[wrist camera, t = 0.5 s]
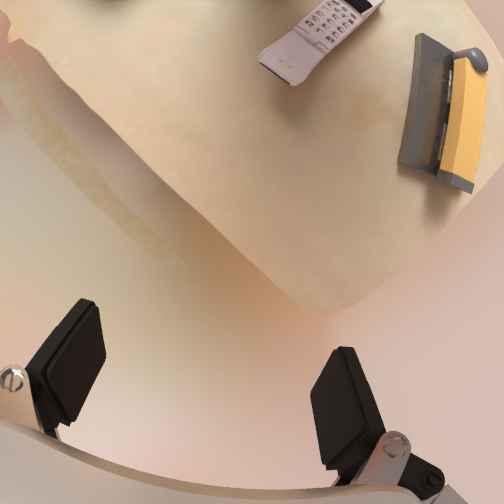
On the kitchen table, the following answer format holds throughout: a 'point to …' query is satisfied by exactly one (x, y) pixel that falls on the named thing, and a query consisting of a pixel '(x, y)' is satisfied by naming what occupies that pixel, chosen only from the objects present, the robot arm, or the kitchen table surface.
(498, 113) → the kitchen table surface
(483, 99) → the bar
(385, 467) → the robot arm
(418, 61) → the plate
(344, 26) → the mobile phone
